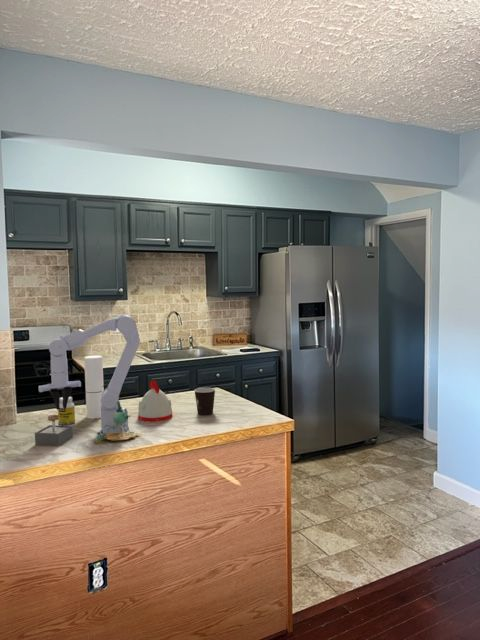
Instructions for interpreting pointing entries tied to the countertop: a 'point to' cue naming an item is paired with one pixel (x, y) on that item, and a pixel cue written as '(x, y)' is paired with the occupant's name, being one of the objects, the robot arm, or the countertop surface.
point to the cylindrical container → (93, 385)
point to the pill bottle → (66, 413)
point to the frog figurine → (119, 419)
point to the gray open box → (53, 436)
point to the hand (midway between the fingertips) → (61, 408)
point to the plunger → (53, 425)
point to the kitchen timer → (154, 405)
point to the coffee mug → (205, 400)
